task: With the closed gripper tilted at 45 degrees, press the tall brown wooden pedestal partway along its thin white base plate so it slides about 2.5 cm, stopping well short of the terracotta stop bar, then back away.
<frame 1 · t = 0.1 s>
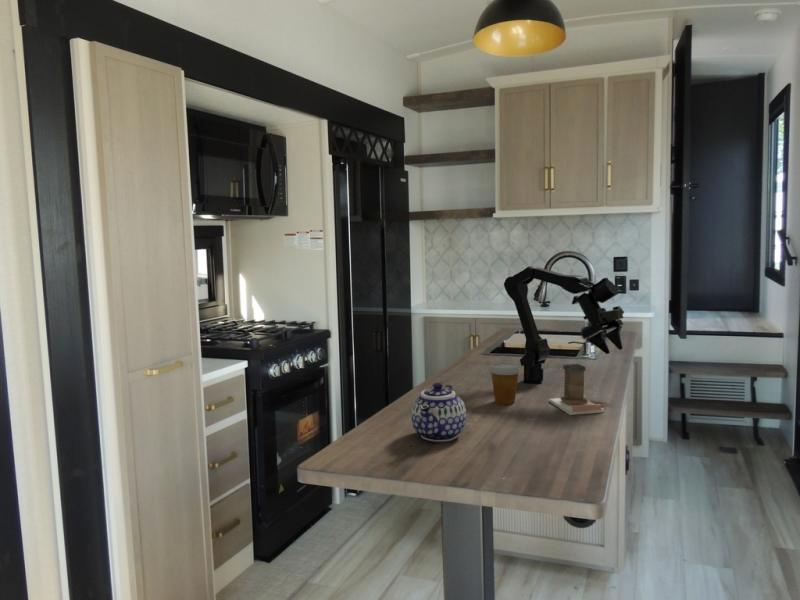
hand: (614, 351, 219), 15 cm above the counter, tool tilted 35°, fingers open, 9 cm apart
thin white base plate: (573, 405, 210), on the counter
teapot: (438, 436, 182), on the counter
brown wooden pedestal: (574, 383, 209), point 7 cm above the counter, slide at 0.0 cm
disposable coffee cup: (504, 402, 215), on the counter
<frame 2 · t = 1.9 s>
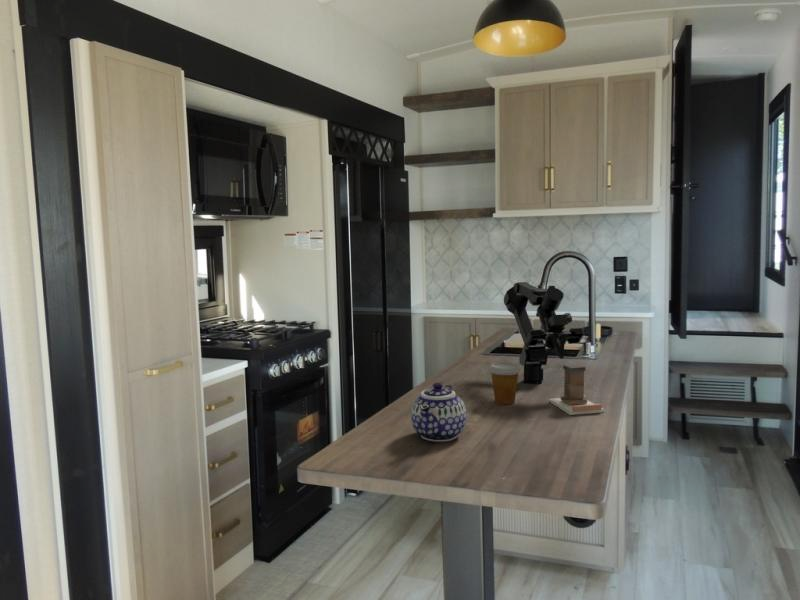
hand: (562, 357, 217), 14 cm above the counter, tool tilted 45°, fingers closed
nothing on the counter moved.
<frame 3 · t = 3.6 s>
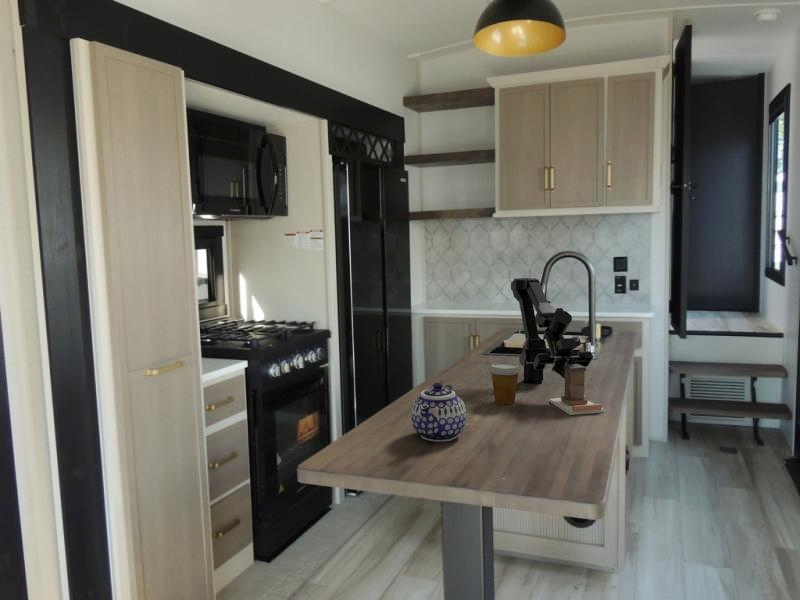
hand: (570, 382, 211), 7 cm above the counter, tool tilted 45°, fingers closed, pressing on brown wooden pedestal
brown wooden pedestal: (574, 384, 209), point 7 cm above the counter, slide at 0.3 cm, touching gripper
everything else where it was.
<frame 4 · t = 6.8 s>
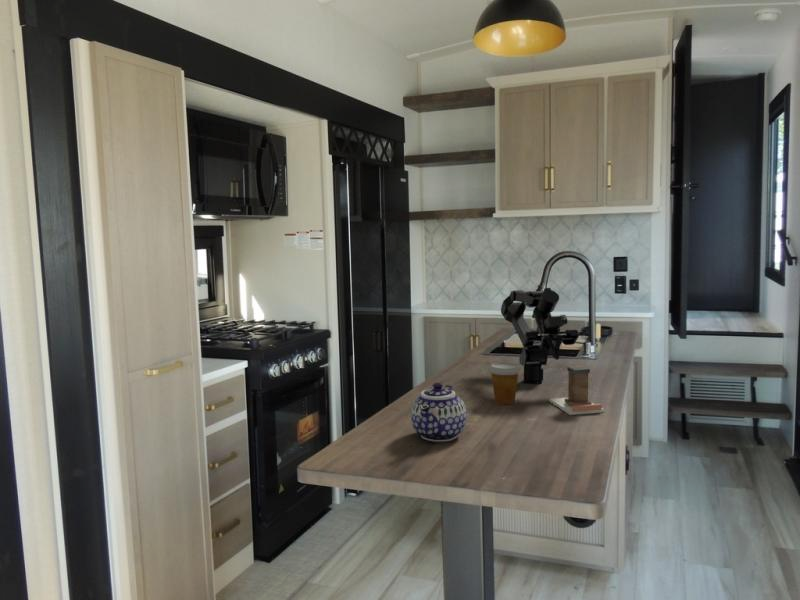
hand: (557, 359, 220), 12 cm above the counter, tool tilted 45°, fingers closed
brown wooden pedestal: (578, 386, 206), point 7 cm above the counter, slide at 2.9 cm
everything else where it was.
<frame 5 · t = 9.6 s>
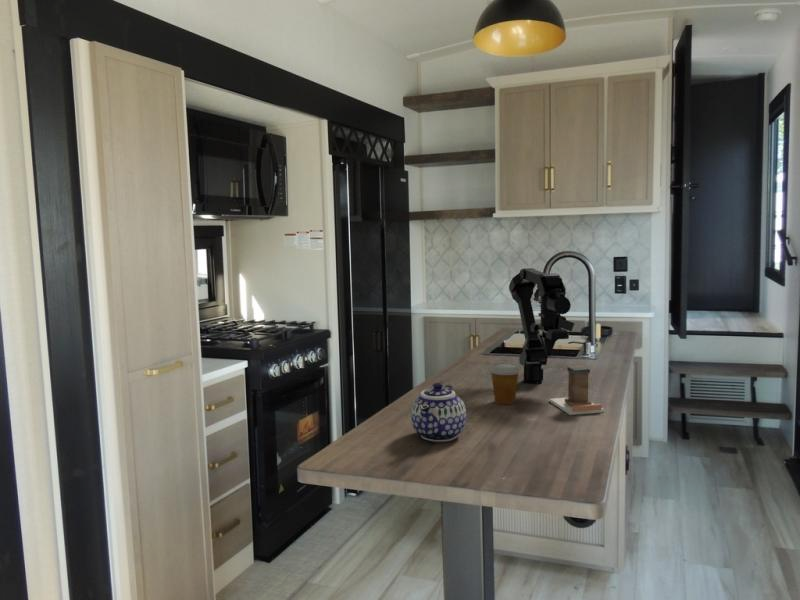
hand: (548, 355, 228), 12 cm above the counter, tool pointing down, fingers closed
nothing on the counter moved.
at the end: brown wooden pedestal slide at 2.9 cm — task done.
